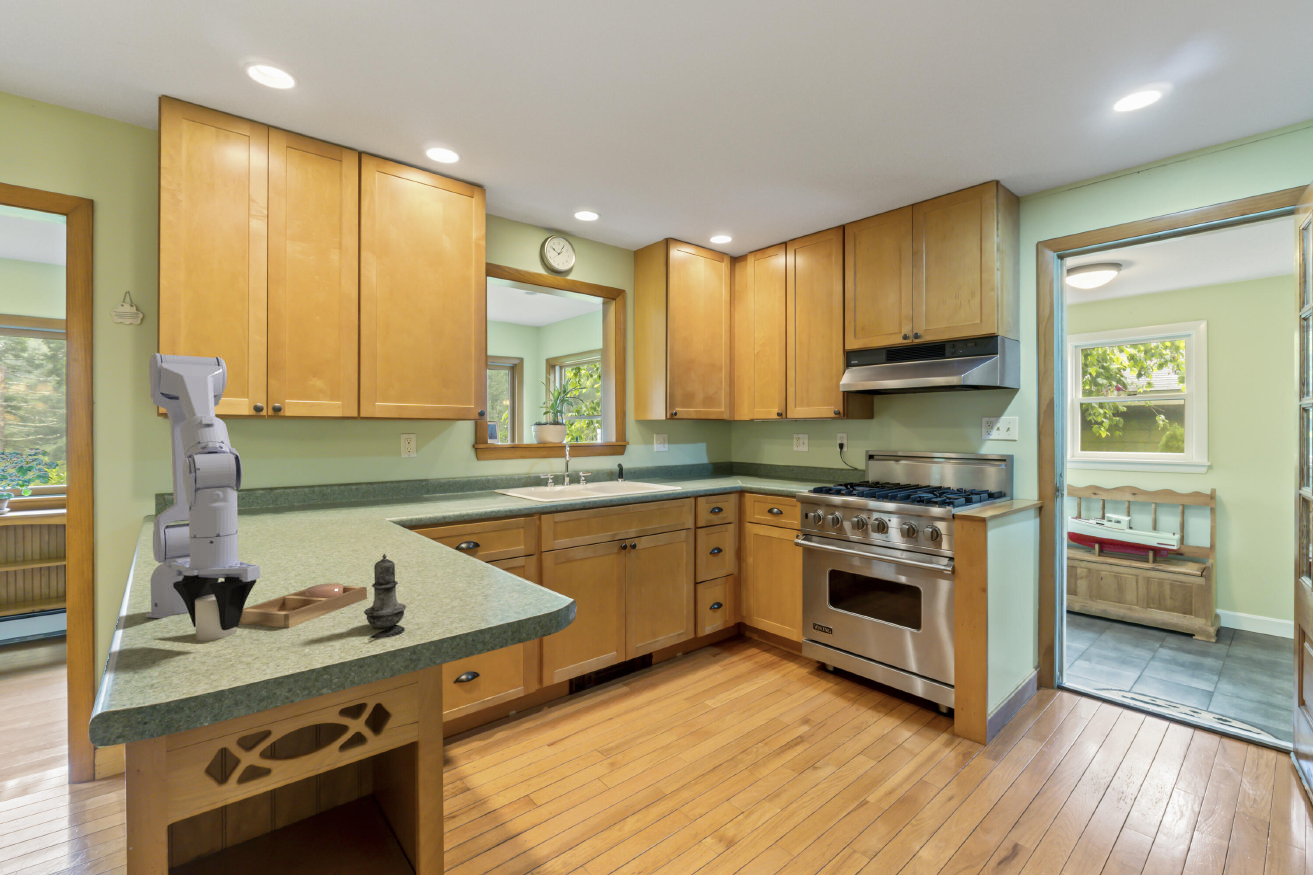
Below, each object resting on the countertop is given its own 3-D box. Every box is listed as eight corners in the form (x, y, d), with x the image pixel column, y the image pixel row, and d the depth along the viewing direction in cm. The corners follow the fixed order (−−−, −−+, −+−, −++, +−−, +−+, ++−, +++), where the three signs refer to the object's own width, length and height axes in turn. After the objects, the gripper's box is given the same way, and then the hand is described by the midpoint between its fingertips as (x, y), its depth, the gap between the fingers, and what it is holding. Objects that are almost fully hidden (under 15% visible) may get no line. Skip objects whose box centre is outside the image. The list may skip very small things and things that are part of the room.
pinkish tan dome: (298, 607, 100) (297, 590, 100) (324, 597, 105) (324, 582, 105) (325, 609, 99) (324, 592, 99) (350, 599, 104) (350, 584, 104)
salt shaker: (390, 640, 86) (388, 558, 86) (355, 637, 87) (353, 557, 87) (414, 626, 92) (413, 550, 92) (381, 624, 93) (380, 549, 93)
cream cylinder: (187, 642, 85) (186, 600, 85) (219, 631, 90) (219, 591, 90) (213, 644, 84) (212, 603, 84) (244, 633, 88) (243, 593, 88)
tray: (238, 629, 92) (237, 610, 92) (321, 600, 107) (320, 584, 107) (289, 634, 89) (289, 614, 89) (367, 603, 105) (366, 587, 105)
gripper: (147, 537, 84) (150, 631, 85) (226, 541, 81) (228, 639, 81) (197, 529, 91) (199, 616, 91) (271, 532, 88) (273, 623, 88)
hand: (216, 626), depth 87 cm, fingers closed on cream cylinder, 5 cm apart
